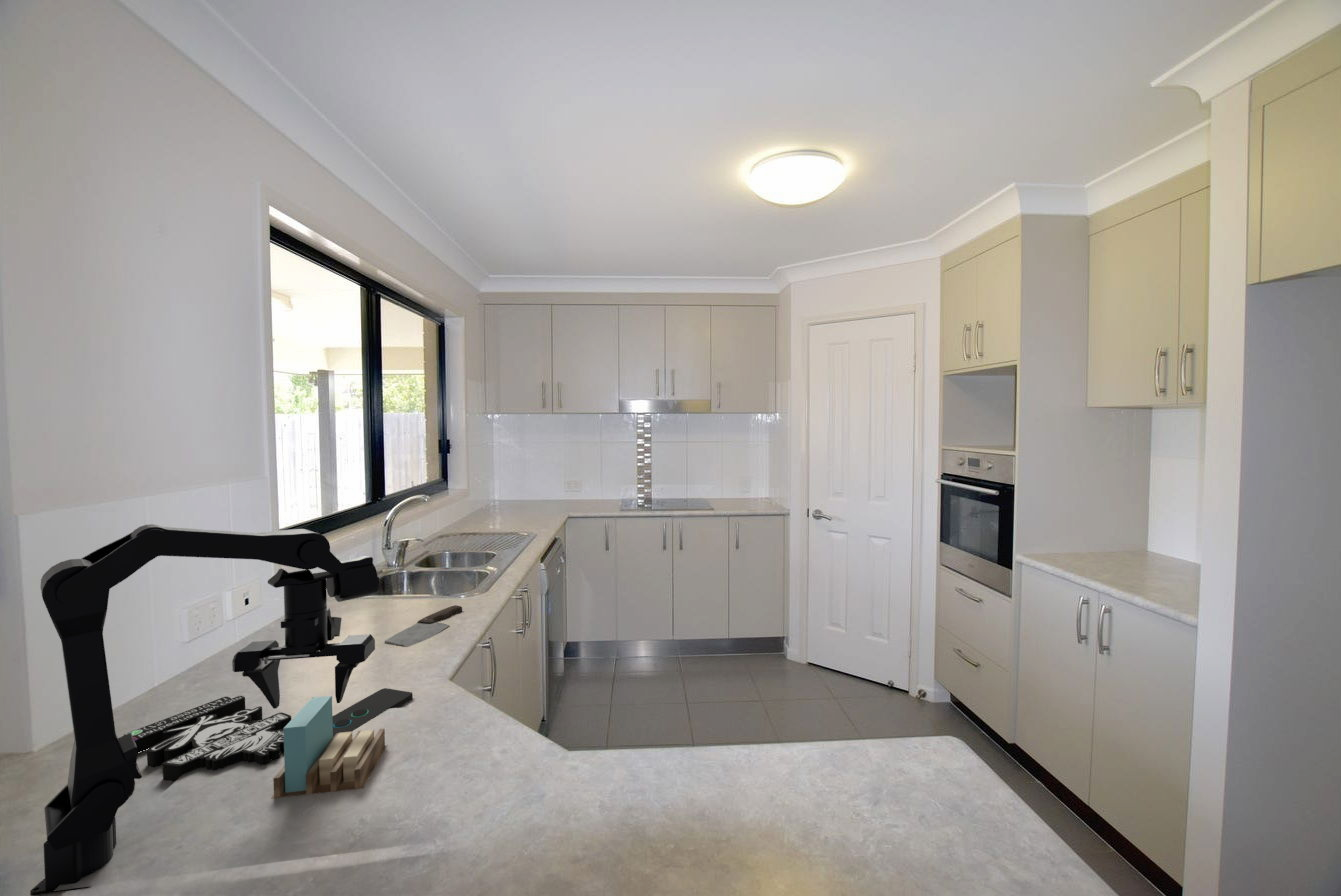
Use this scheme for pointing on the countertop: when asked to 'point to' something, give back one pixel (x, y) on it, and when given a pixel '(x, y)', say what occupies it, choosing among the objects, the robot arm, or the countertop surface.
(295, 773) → the block
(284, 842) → the countertop surface
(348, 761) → the offcut front
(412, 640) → the cleaver
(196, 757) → the sign
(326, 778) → the block
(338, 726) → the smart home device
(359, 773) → the rack
